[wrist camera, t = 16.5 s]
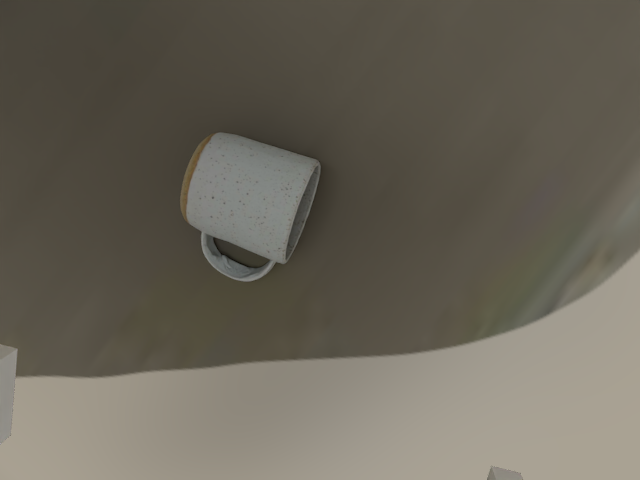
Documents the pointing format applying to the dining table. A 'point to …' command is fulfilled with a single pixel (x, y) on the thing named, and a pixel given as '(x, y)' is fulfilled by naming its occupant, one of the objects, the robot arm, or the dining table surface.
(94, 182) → the dining table surface
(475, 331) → the dining table surface
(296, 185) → the ceramic mug
